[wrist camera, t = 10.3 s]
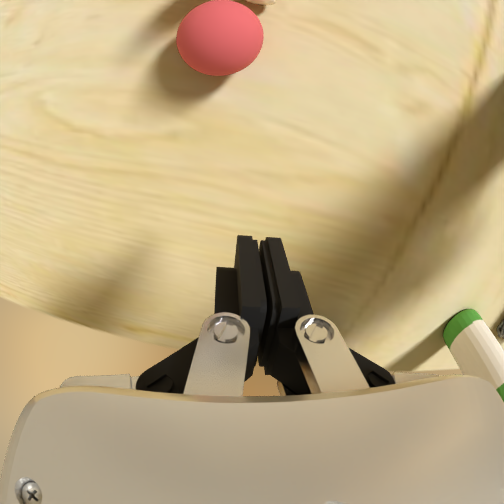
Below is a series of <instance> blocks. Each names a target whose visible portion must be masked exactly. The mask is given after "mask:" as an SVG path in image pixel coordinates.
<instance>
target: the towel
mask: <svg viewBox="0 0 504 504" xmlns="http://www.w3.org/2000/svg"><path fill="white" fill-rule="evenodd" d="M497 332H498V336H499V337H503V338H504V320H503V321H502V322H501V324H500V325H499V326H498V328H497Z"/></svg>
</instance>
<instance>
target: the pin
mask: <svg viewBox="0 0 504 504" xmlns="http://www.w3.org/2000/svg"><path fill="white" fill-rule="evenodd" d="M245 1H247V2H250V3H254V4H260V5H272V4H275V0H245Z"/></svg>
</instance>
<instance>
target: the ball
mask: <svg viewBox="0 0 504 504" xmlns="http://www.w3.org/2000/svg"><path fill="white" fill-rule="evenodd" d="M176 42H177V48H178V51H179V53H180V55H181V57H182V59H183V60H184V61H185V62H186V63H187V64H188V65H189V66H190V67H191V68H193V69H194V70H196V71H198V72H201V73H203V74H207V75H213V76H224V75H229V74H233V73H236V72H238V71H240V70H242V69H244V68H246V67H247V66H248V65H250V64H251V63H252V62H253V61H254V60H255V58H256V57H257V55H258V54H259V52H260V50H261V48H262V44H263V29H262V25H261V23H260V21H259V19H258V17H257V16H256V15H255V14H254V13H253V12H252V11H251V10H250V9H249V8H247V7H246V6H244V5H242V4H240V3H237V2H234V1H230V0H214V1H209V2H206V3H203V4H201V5H199V6H197V7H195V8H194V9H192V10H191V11H190V12H189V13H188V14H187V15H186V16H185V17H184V18H183V20H182V21H181V23H180V25H179V28H178V31H177V37H176Z"/></svg>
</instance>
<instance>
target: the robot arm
mask: <svg viewBox="0 0 504 504" xmlns="http://www.w3.org/2000/svg"><path fill="white" fill-rule="evenodd" d="M257 356H258V361H259V366H264V370H265V375H271V376H272V377H274V378H275V379H277V380H278V381H277V386H278V390H279V393H280V396H247V397H246V396H242V395H243V387H244V382H245V381H246V380H247V379H248V378H250V377H251V376H252V374H253V369H254V366H255V365H256V361H257ZM0 504H504V402H503V400H502V398H501V397H500V395H499V394H498V392H497V391H496V389H495V388H494V387H493V385H492V384H491V383H489V382H488V381H487V380H484V379H482V378H479V377H476V376H470V375H445V376H444V375H443V376H439V375H434V374H417V373H402V372H394V373H393V374H392V375H391V374H390V373H389V372H388V371H387V370H385V369H384V368H382V367H380V366H379V365H377V364H375V363H374V362H372V361H370V360H368V359H367V358H365V357H363V356H362V355H360V354H358V353H357V352H355V351H353V350H352V349H350V348H348V346H347V344H346V343H345V341H344V339H343V337H342V335H341V334H340V332H339V330H338V328H337V327H336V325H335V324H334V323H333V322H332V321H330V320H329V319H327V318H325V317H323V316H319V315H314V314H313V311H312V308H311V305H310V302H309V299H308V295H307V292H306V289H305V286H304V283H303V280H302V277H301V274H300V272H299V271H290V268H289V265H288V261H287V258H286V254H285V251H284V247H283V244H282V241H281V238H272V237H266V240H265V241H263V240H261V242H260V247H259V249H258V243H257V240H252V236H242V235H238V236H237V245H236V255H235V265H234V268H226V267H217V271H216V290H215V313H214V315H211V316H209V317H208V318H207V319H206V320H205V321H204V323H203V325H202V328H201V332H200V335H199V337H198V338H197V339H195V340H194V341H192V342H191V343H189V344H188V345H186V346H184V347H183V348H181V349H180V350H178V351H177V352H175V353H173V354H172V355H170V356H169V357H167V358H166V359H164V360H162V361H161V362H159V363H157V364H156V365H154V366H153V367H151V368H149V369H148V370H146V371H145V372H144V373H142V374H141V375H140V376H138V377H131V376H130V374H122V375H102V376H75V377H70V378H68V379H67V380H65V381H64V382H63V383H62V384H61V386H60V388H56V389H51V390H48V391H45V392H42V393H40V394H38V395H36V396H34V397H33V398H32V399H31V400H30V401H29V402H28V404H27V405H26V406H25V407H24V409H23V411H22V413H21V415H20V416H19V419H18V421H17V423H16V425H15V428H14V430H13V433H12V436H11V439H10V442H9V446H8V449H7V453H6V456H5V460H4V464H3V469H2V474H1V480H0Z"/></svg>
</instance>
